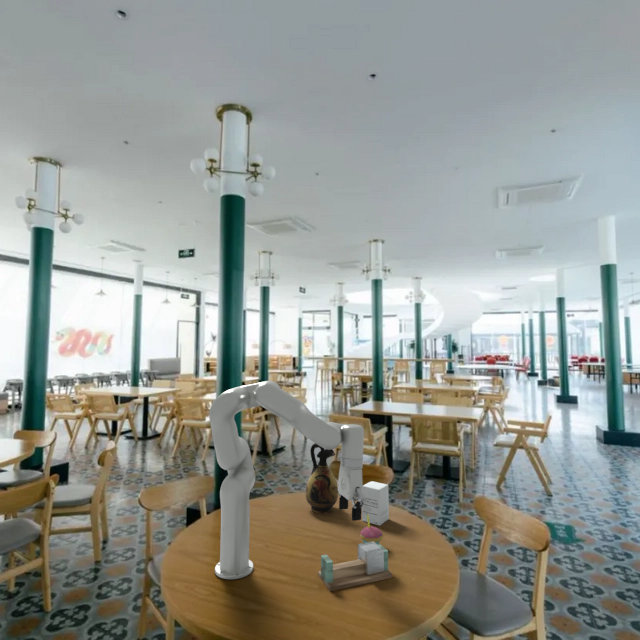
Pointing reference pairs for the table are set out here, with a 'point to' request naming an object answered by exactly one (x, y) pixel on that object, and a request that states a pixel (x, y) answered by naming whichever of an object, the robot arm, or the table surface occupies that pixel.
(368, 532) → the cupcake
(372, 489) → the supplement box
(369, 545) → the grey sliding block
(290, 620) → the table surface
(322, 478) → the ceramic jug
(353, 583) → the rail bed
